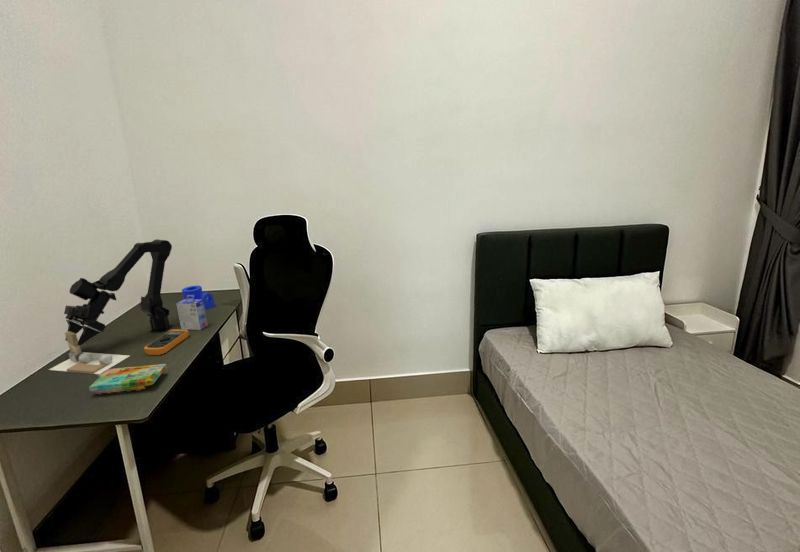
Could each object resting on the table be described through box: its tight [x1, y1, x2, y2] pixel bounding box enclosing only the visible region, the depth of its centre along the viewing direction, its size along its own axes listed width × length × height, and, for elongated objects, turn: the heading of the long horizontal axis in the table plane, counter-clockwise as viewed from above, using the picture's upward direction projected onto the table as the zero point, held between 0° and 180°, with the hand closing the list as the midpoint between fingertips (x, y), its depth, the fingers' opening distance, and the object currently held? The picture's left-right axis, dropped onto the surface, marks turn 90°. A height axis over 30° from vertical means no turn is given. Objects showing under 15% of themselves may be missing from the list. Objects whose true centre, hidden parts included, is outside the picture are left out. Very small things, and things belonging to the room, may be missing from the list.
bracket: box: [181, 285, 216, 310], centre depth 229 cm, size 20×9×8 cm, turn 51°
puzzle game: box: [88, 363, 168, 395], centre depth 157 cm, size 12×5×20 cm
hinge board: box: [48, 351, 130, 378], centre depth 173 cm, size 14×23×4 cm, turn 76°
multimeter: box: [143, 328, 190, 356], centre depth 186 cm, size 9×18×3 cm, turn 170°
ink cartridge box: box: [175, 295, 209, 331], centre depth 200 cm, size 10×6×14 cm, turn 78°
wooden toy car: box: [64, 331, 85, 363], centre depth 174 cm, size 3×5×11 cm
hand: (72, 342), depth 174 cm, fingers open, 9 cm apart
